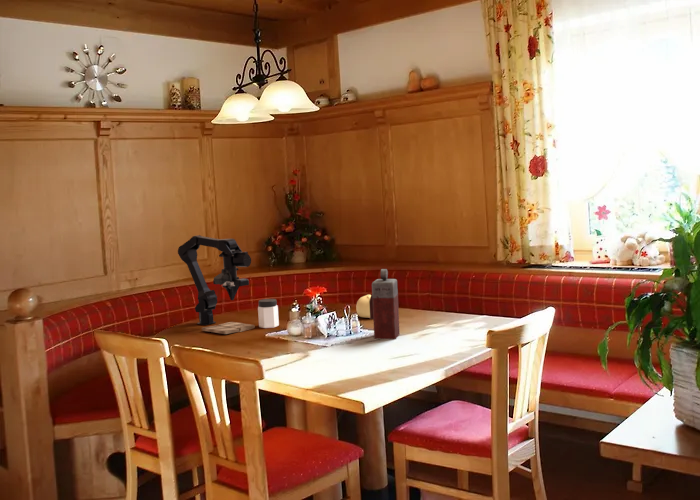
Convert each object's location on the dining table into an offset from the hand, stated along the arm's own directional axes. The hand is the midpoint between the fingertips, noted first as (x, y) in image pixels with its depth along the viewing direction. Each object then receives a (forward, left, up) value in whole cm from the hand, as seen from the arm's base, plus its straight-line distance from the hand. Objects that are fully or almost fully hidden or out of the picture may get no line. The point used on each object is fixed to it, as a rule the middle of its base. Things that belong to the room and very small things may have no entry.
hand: (232, 300), depth 354 cm
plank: (+5, -12, -12) cm, 18 cm away
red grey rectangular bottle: (+76, +15, -12) cm, 78 cm away
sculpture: (+45, +44, -12) cm, 64 cm away
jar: (+16, +7, -12) cm, 21 cm away
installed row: (+5, -3, -12) cm, 13 cm away
